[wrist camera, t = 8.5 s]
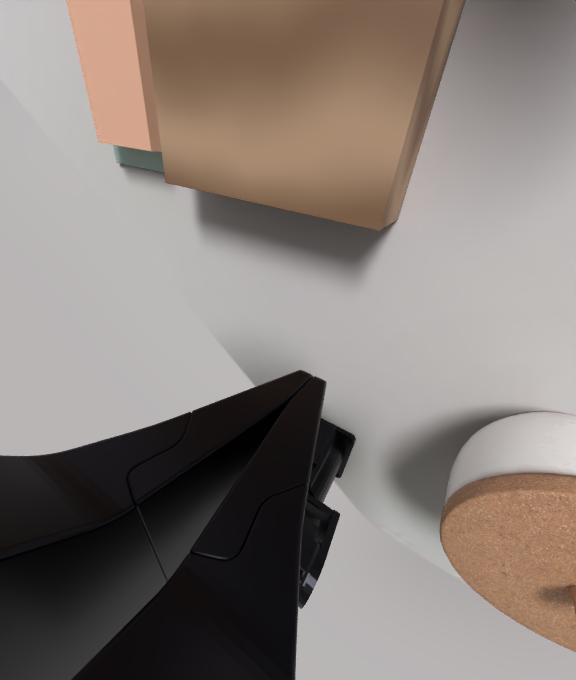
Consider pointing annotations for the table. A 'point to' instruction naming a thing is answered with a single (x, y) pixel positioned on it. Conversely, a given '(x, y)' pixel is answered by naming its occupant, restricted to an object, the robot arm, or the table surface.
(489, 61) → the table surface
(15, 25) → the table surface
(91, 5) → the peach upright slab
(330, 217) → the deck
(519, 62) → the table surface
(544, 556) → the lidded jar
